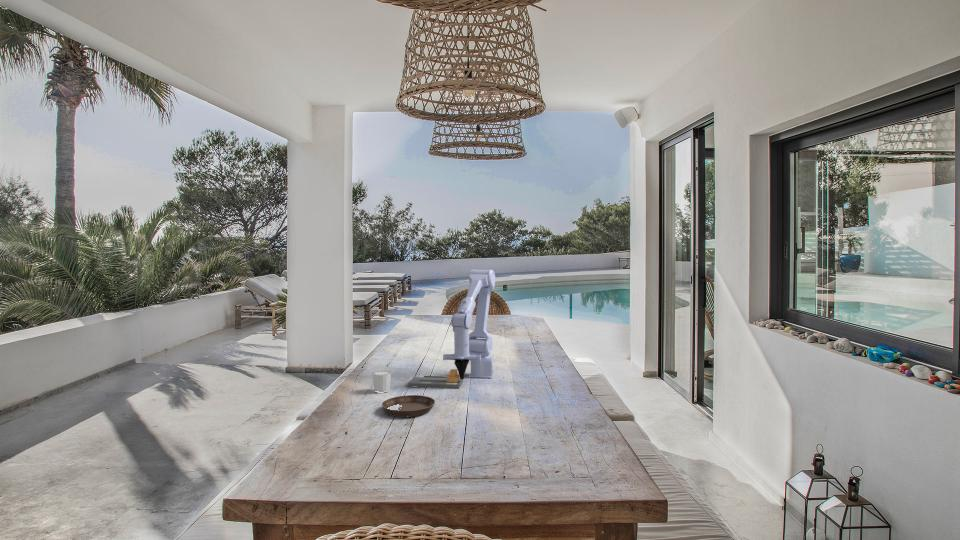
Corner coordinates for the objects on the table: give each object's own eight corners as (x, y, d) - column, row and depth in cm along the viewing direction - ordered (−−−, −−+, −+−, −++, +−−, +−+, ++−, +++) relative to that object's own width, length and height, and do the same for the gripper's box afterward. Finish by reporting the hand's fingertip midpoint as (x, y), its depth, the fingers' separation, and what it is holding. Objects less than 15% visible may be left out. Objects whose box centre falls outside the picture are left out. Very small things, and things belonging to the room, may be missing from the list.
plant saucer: (385, 421, 186) (385, 412, 186) (379, 406, 203) (378, 397, 202) (440, 416, 191) (440, 407, 190) (429, 401, 208) (429, 393, 207)
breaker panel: (463, 382, 234) (463, 378, 233) (458, 388, 224) (458, 384, 224) (414, 380, 236) (414, 376, 236) (407, 387, 226) (407, 382, 226)
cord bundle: (452, 378, 239) (452, 376, 239) (451, 380, 236) (451, 377, 236) (423, 378, 240) (423, 375, 240) (422, 379, 238) (422, 377, 238)
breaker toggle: (459, 379, 231) (459, 369, 231) (457, 382, 226) (457, 371, 226) (449, 378, 232) (449, 368, 231) (447, 381, 227) (447, 371, 226)
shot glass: (393, 389, 224) (393, 370, 223) (388, 394, 217) (388, 375, 216) (375, 388, 224) (375, 370, 224) (370, 393, 217) (370, 374, 217)
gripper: (441, 345, 224) (441, 380, 225) (478, 346, 223) (479, 381, 223) (444, 342, 231) (445, 376, 232) (481, 342, 230) (481, 377, 230)
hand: (462, 378), depth 228 cm, fingers closed
